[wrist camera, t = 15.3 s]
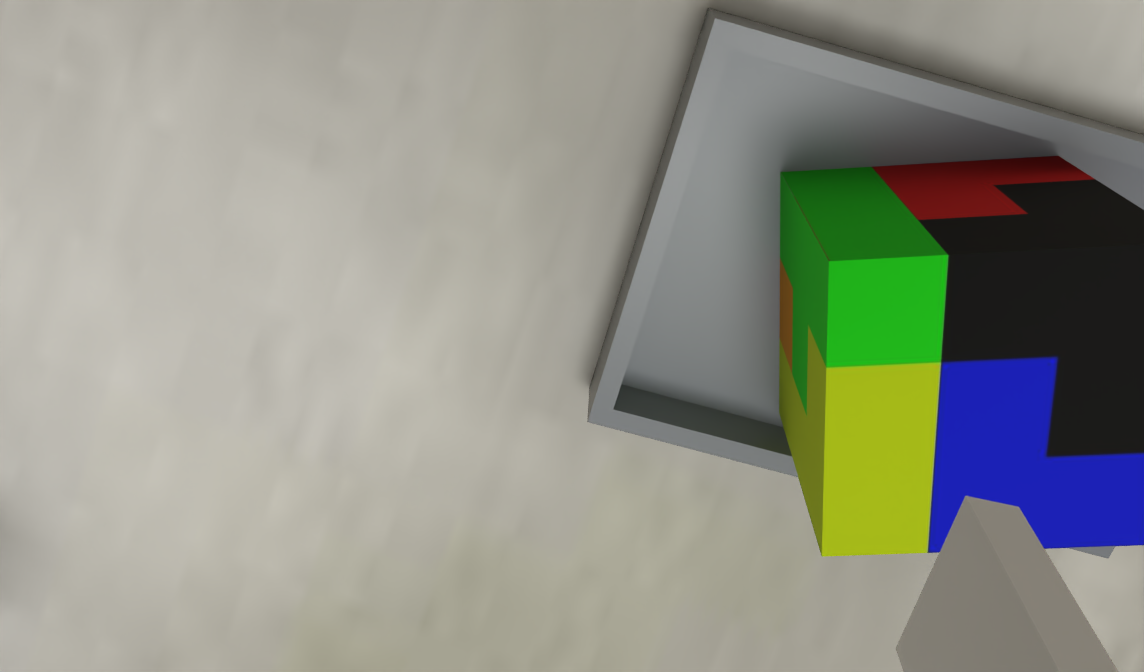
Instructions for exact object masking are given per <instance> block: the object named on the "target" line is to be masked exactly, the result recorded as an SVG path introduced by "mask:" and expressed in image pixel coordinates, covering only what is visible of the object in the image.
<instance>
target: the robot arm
mask: <svg viewBox="0 0 1144 672" xmlns="http://www.w3.org/2000/svg"><path fill="white" fill-rule="evenodd" d="M896 651H897V654H898V657H899V659H900V662H901V665H902V668H903V671H904V672H1118V670H1117V669H1116V667H1115V665H1114V664H1113V662H1112V660H1111V659H1110V657H1109V655H1108V654H1107V652H1106V650H1105V649H1104V647H1103V645H1102V644H1101V642H1100V640H1099V639H1098V637H1097V635H1096V634H1095V632H1094V630H1093V629H1092V627H1091V626H1090V624H1089V622H1088V621H1087V619H1086V617H1085V616H1084V614H1083V612H1082V611H1081V609H1080V607H1079V606H1078V604H1077V602H1076V601H1075V599H1074V597H1073V596H1072V594H1071V592H1070V591H1069V589H1068V587H1067V586H1066V584H1065V582H1064V581H1063V579H1062V577H1061V576H1060V574H1059V572H1058V571H1057V569H1056V568H1055V566H1054V564H1053V563H1052V561H1051V559H1050V558H1049V556H1048V554H1047V553H1046V551H1045V549H1044V548H1043V546H1042V544H1041V543H1040V541H1039V539H1038V538H1037V536H1036V534H1035V533H1034V531H1033V529H1032V528H1031V526H1030V524H1029V523H1028V521H1027V519H1026V518H1025V516H1024V514H1023V513H1022V511H1021V510H1020V508H1019V507H1017V506H1013V505H1008V504H1003V503H998V502H994V501H989V500H984V499H979V498H974V497H970V496H965V498H964V500H963V502H962V504H961V507H960V509H959V511H958V513H957V515H956V517H955V520H954V522H953V524H952V526H951V528H950V531H949V533H948V535H947V537H946V539H945V542H944V544H943V546H942V548H941V550H940V553H939V555H938V557H937V559H936V561H935V563H934V566H933V568H932V570H931V572H930V574H929V577H928V579H927V581H926V583H925V585H924V588H923V590H922V592H921V594H920V596H919V599H918V601H917V603H916V605H915V607H914V610H913V612H912V614H911V616H910V618H909V620H908V623H907V625H906V627H905V629H904V631H903V634H902V636H901V638H900V640H899V642H898V645H897V647H896Z"/></svg>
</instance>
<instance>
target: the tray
mask: <svg viewBox="0 0 1144 672" xmlns="http://www.w3.org/2000/svg"><path fill="white" fill-rule="evenodd" d="M1043 156H1060V157H1061V158H1063V159H1064V160H1066V161H1067V162H1069V163H1071V164H1072V165H1074V166H1075V167H1077V168H1078V169H1080V170H1082V171H1083V172H1085V173H1086V174H1088V175H1090V176H1091V177H1093V178H1094V179H1096V180H1097V181H1099V182H1101V183H1102V184H1104V185H1105V186H1107V187H1108V188H1110V189H1112V190H1113V191H1115V192H1116V193H1118V194H1119V195H1121V196H1123V197H1124V198H1126V199H1127V200H1129V201H1131V202H1132V203H1134V204H1135V205H1137V206H1138V207H1140V208H1142V209H1143V210H1144V135H1142V134H1139V133H1135V132H1132V131H1128V130H1125V129H1121V128H1118V127H1115V126H1111V125H1108V124H1104V123H1101V122H1097V121H1094V120H1091V119H1087V118H1084V117H1080V116H1077V115H1073V114H1070V113H1067V112H1063V111H1060V110H1056V109H1053V108H1049V107H1046V106H1043V105H1039V104H1036V103H1032V102H1029V101H1025V100H1022V99H1019V98H1015V97H1012V96H1008V95H1005V94H1001V93H998V92H995V91H991V90H988V89H984V88H981V87H977V86H974V85H971V84H967V83H964V82H960V81H957V80H953V79H950V78H947V77H943V76H940V75H936V74H933V73H929V72H926V71H923V70H919V69H916V68H912V67H909V66H905V65H902V64H899V63H895V62H892V61H888V60H885V59H881V58H878V57H875V56H871V55H868V54H864V53H861V52H857V51H854V50H851V49H847V48H844V47H840V46H837V45H833V44H830V43H827V42H823V41H820V40H816V39H813V38H809V37H806V36H803V35H799V34H796V33H792V32H789V31H785V30H782V29H779V28H775V27H772V26H768V25H765V24H761V23H758V22H755V21H751V20H748V19H744V18H741V17H737V16H734V15H731V14H727V13H724V12H720V11H717V10H713V9H710V8H708V10H707V14H706V17H705V20H704V23H703V26H702V30H701V33H700V36H699V39H698V42H697V46H696V49H695V52H694V55H693V58H692V62H691V65H690V68H689V71H688V74H687V78H686V81H685V84H684V87H683V90H682V94H681V97H680V100H679V103H678V106H677V110H676V113H675V116H674V119H673V122H672V126H671V129H670V132H669V135H668V138H667V142H666V145H665V148H664V151H663V154H662V158H661V161H660V164H659V167H658V170H657V174H656V177H655V180H654V183H653V186H652V190H651V193H650V196H649V199H648V202H647V206H646V209H645V212H644V215H643V218H642V222H641V225H640V228H639V231H638V234H637V238H636V241H635V244H634V247H633V250H632V254H631V257H630V260H629V263H628V266H627V270H626V273H625V276H624V279H623V282H622V286H621V289H620V292H619V295H618V298H617V302H616V305H615V308H614V311H613V314H612V318H611V321H610V324H609V327H608V330H607V334H606V337H605V340H604V343H603V346H602V350H601V353H600V356H599V359H598V362H597V366H596V369H595V372H594V375H593V378H592V382H591V385H590V389H589V405H588V422H590V423H594V424H597V425H601V426H605V427H609V428H613V429H616V430H620V431H624V432H628V433H632V434H635V435H639V436H643V437H647V438H651V439H655V440H658V441H662V442H666V443H670V444H674V445H677V446H681V447H685V448H689V449H693V450H696V451H700V452H704V453H708V454H712V455H716V456H719V457H723V458H727V459H731V460H735V461H738V462H742V463H746V464H750V465H754V466H757V467H761V468H765V469H769V470H773V471H776V472H780V473H784V474H788V475H792V476H796V477H798V475H797V471H796V468H795V464H794V461H793V458H792V454H791V451H790V448H789V444H788V441H787V438H786V434H785V431H784V427H783V424H782V421H781V417H780V414H779V335H780V172H788V171H805V170H822V169H839V168H856V167H873V166H890V165H907V164H924V163H941V162H958V161H975V160H992V159H1009V158H1026V157H1043ZM1114 548H1115V546H1104V547H1075V548H1070V549H1074V550H1078V551H1081V552H1085V553H1089V554H1093V555H1097V556H1100V557H1104V558H1109V556H1110V555H1111V553H1112V551H1113V549H1114Z"/></svg>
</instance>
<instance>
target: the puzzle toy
mask: <svg viewBox="0 0 1144 672" xmlns="http://www.w3.org/2000/svg"><path fill="white" fill-rule="evenodd" d="M779 414H780V417H781V421H782V424H783V427H784V431H785V434H786V438H787V441H788V444H789V448H790V451H791V454H792V458H793V461H794V464H795V468H796V471H797V475H798V478H799V481H800V485H801V488H802V491H803V495H804V498H805V501H806V505H807V508H808V512H809V515H810V518H811V522H812V525H813V528H814V532H815V535H816V538H817V542H818V545H819V549H820V552H821V555H822V556H849V555H877V554H906V553H934V552H940V550H941V548H942V546H943V544H944V542H945V539H946V537H947V535H948V533H949V531H950V528H951V526H952V524H953V522H954V520H955V517H956V515H957V513H958V511H959V509H960V507H961V504H962V502H963V500H964V498H965V496H970V497H974V498H979V499H984V500H989V501H994V502H998V503H1003V504H1008V505H1013V506H1017V507H1019V508H1020V510H1021V511H1022V513H1023V514H1024V516H1025V518H1026V519H1027V521H1028V523H1029V524H1030V526H1031V528H1032V529H1033V531H1034V533H1035V534H1036V536H1037V538H1038V539H1039V541H1040V543H1041V544H1042V546H1043V548H1044V549H1047V548H1075V547H1104V546H1132V545H1144V210H1143V209H1142V208H1140V207H1138V206H1137V205H1135V204H1134V203H1132V202H1131V201H1129V200H1127V199H1126V198H1124V197H1123V196H1121V195H1119V194H1118V193H1116V192H1115V191H1113V190H1112V189H1110V188H1108V187H1107V186H1105V185H1104V184H1102V183H1101V182H1099V181H1097V180H1096V179H1094V178H1093V177H1091V176H1090V175H1088V174H1086V173H1085V172H1083V171H1082V170H1080V169H1078V168H1077V167H1075V166H1074V165H1072V164H1071V163H1069V162H1067V161H1066V160H1064V159H1063V158H1061V157H1060V156H1043V157H1026V158H1009V159H992V160H975V161H958V162H941V163H924V164H907V165H890V166H873V167H856V168H839V169H822V170H805V171H788V172H780V335H779Z"/></svg>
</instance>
